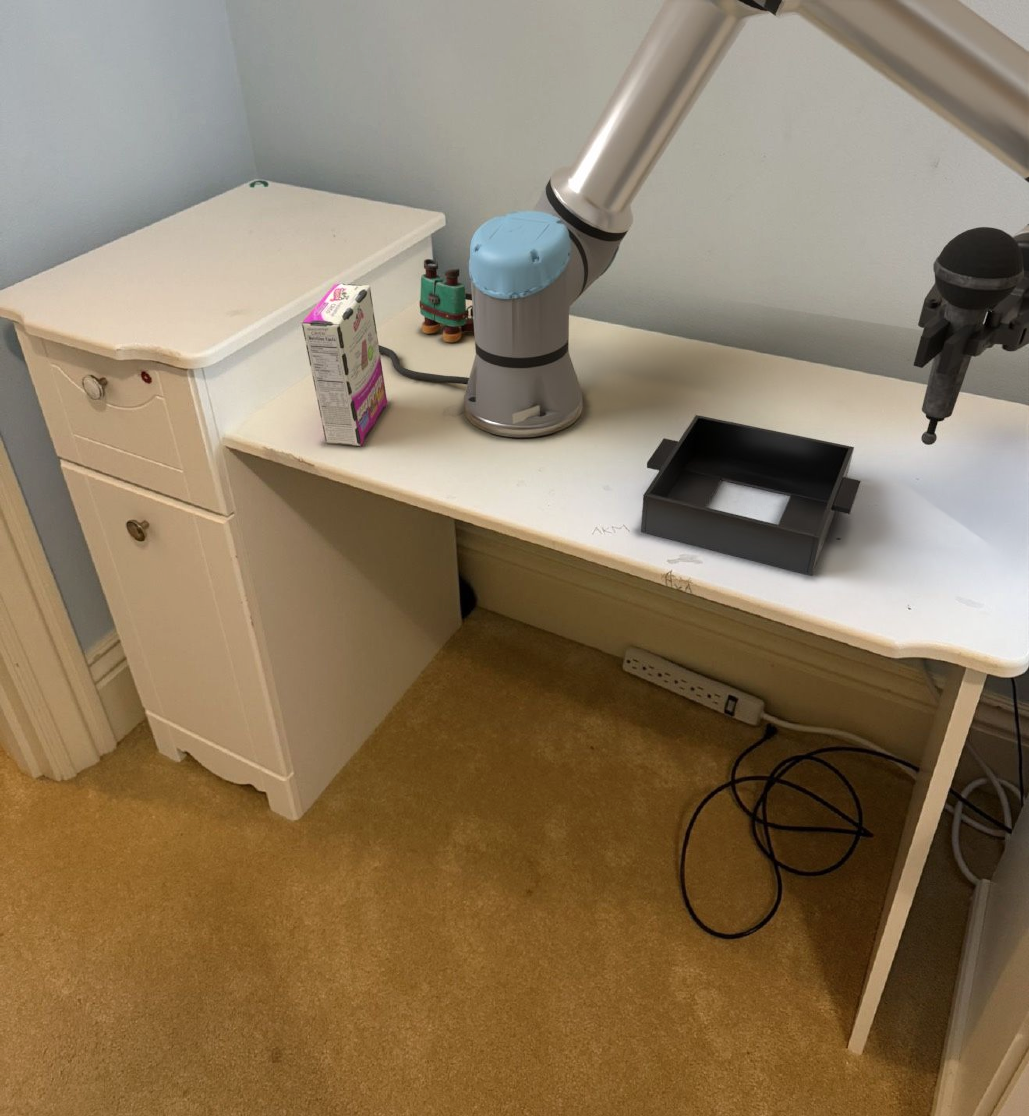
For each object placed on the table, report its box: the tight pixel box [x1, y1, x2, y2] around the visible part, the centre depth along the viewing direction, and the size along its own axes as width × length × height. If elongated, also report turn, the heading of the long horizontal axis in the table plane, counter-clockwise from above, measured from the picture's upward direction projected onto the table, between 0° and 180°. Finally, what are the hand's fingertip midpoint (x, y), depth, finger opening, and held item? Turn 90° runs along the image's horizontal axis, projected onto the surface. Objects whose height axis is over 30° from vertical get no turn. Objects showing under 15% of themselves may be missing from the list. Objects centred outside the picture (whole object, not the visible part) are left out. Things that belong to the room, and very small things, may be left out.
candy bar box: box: [300, 283, 388, 447], centre depth 112 cm, size 11×5×16 cm, turn 168°
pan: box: [640, 414, 862, 576], centre depth 99 cm, size 22×18×5 cm
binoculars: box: [419, 258, 474, 343], centre depth 136 cm, size 9×11×10 cm
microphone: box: [921, 226, 1024, 446], centre depth 79 cm, size 7×7×20 cm
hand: (933, 355), depth 76 cm, fingers closed on microphone
